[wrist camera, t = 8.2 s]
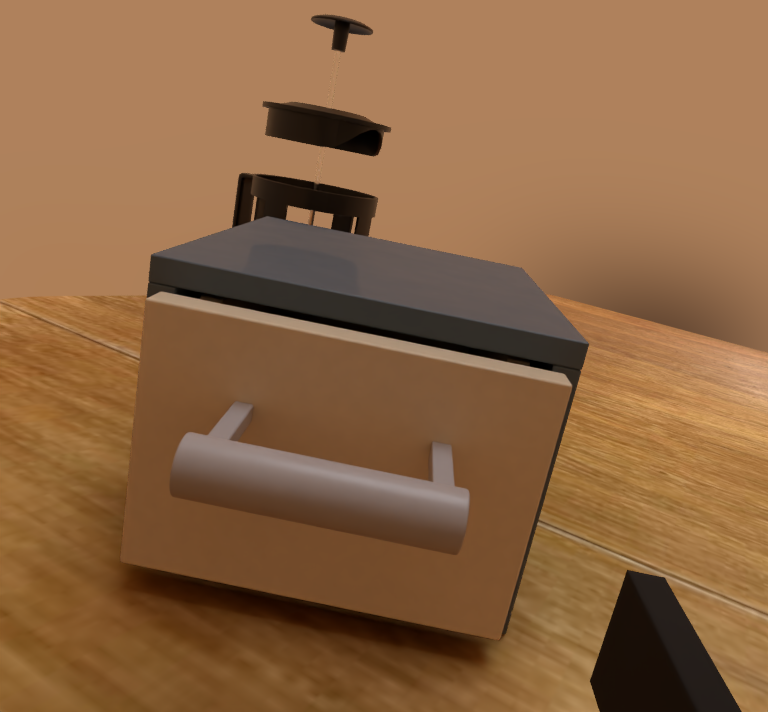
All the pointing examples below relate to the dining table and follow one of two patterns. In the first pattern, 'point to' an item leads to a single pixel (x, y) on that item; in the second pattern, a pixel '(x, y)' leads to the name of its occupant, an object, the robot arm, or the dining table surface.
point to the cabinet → (380, 294)
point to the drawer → (336, 461)
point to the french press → (325, 132)
